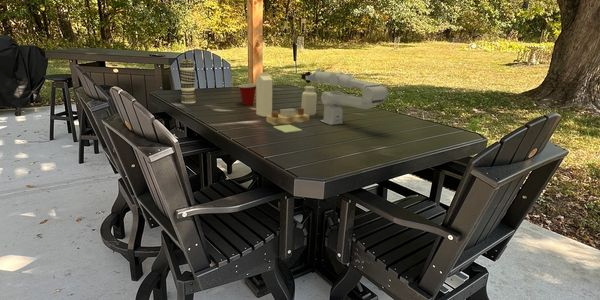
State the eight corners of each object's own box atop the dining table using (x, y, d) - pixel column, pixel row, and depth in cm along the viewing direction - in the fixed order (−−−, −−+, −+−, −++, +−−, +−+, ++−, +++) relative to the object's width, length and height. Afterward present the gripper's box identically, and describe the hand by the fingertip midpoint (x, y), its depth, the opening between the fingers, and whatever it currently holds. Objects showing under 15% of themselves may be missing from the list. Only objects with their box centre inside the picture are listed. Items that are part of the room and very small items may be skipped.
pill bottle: (316, 116, 207) (317, 88, 202) (301, 115, 207) (302, 87, 202) (315, 113, 214) (317, 86, 210) (301, 112, 215) (302, 85, 210)
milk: (272, 115, 205) (272, 73, 198) (262, 116, 201) (263, 73, 194) (264, 113, 209) (265, 72, 203) (255, 114, 205) (256, 72, 199)
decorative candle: (180, 100, 235) (177, 58, 227) (196, 100, 238) (194, 58, 230) (180, 103, 226) (178, 60, 219) (196, 103, 229) (194, 60, 222)
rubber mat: (302, 130, 176) (302, 129, 176) (285, 132, 172) (285, 132, 171) (289, 125, 185) (289, 124, 185) (273, 127, 180) (273, 126, 180)
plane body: (300, 118, 201) (300, 106, 199) (309, 121, 195) (309, 109, 193) (266, 121, 191) (266, 109, 189) (274, 125, 184) (274, 112, 183)
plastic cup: (236, 103, 233) (235, 83, 229) (253, 102, 237) (253, 83, 234) (241, 107, 223) (241, 86, 220) (259, 106, 228) (259, 85, 224)
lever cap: (292, 114, 195) (292, 108, 194) (296, 115, 192) (296, 109, 191) (280, 115, 192) (280, 109, 191) (284, 117, 188) (284, 110, 188)
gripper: (335, 68, 196) (318, 67, 206) (313, 70, 188) (296, 69, 198) (335, 82, 198) (318, 80, 208) (313, 85, 190) (296, 83, 200)
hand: (307, 75), depth 203 cm, fingers open, 7 cm apart
